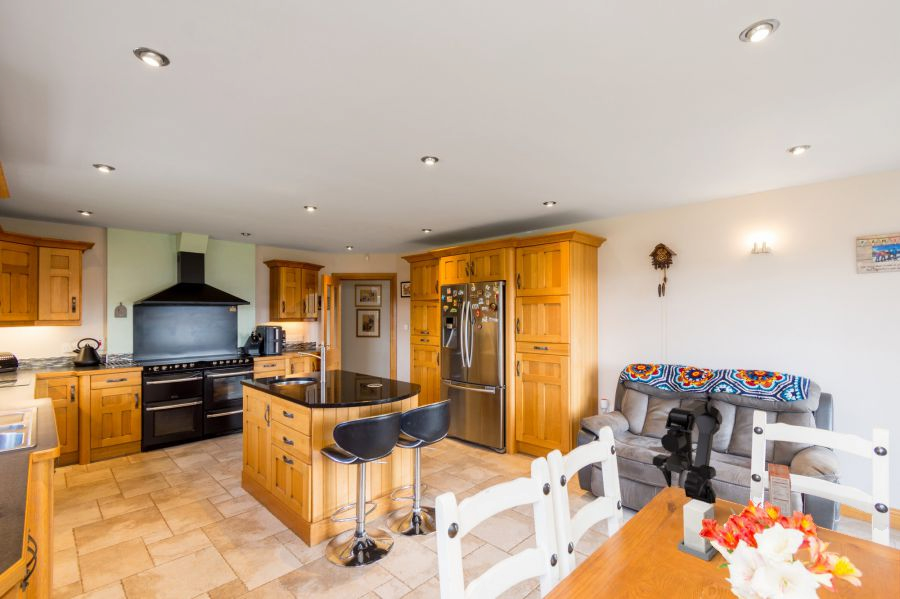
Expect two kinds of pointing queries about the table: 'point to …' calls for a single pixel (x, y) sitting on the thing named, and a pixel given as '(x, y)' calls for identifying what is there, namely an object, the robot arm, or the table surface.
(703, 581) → the table surface
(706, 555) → the tray
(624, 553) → the table surface
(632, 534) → the table surface
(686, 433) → the robot arm
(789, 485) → the cracker box
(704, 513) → the small box
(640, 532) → the table surface
